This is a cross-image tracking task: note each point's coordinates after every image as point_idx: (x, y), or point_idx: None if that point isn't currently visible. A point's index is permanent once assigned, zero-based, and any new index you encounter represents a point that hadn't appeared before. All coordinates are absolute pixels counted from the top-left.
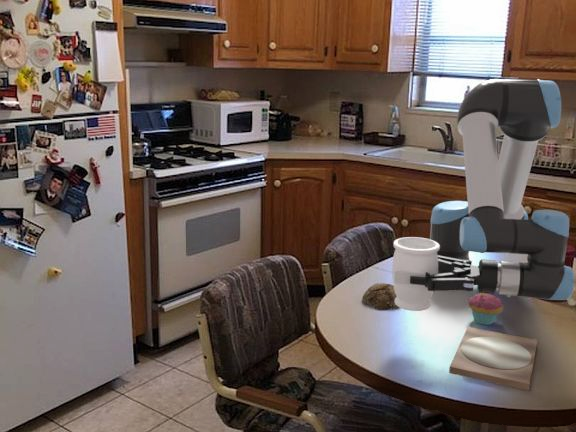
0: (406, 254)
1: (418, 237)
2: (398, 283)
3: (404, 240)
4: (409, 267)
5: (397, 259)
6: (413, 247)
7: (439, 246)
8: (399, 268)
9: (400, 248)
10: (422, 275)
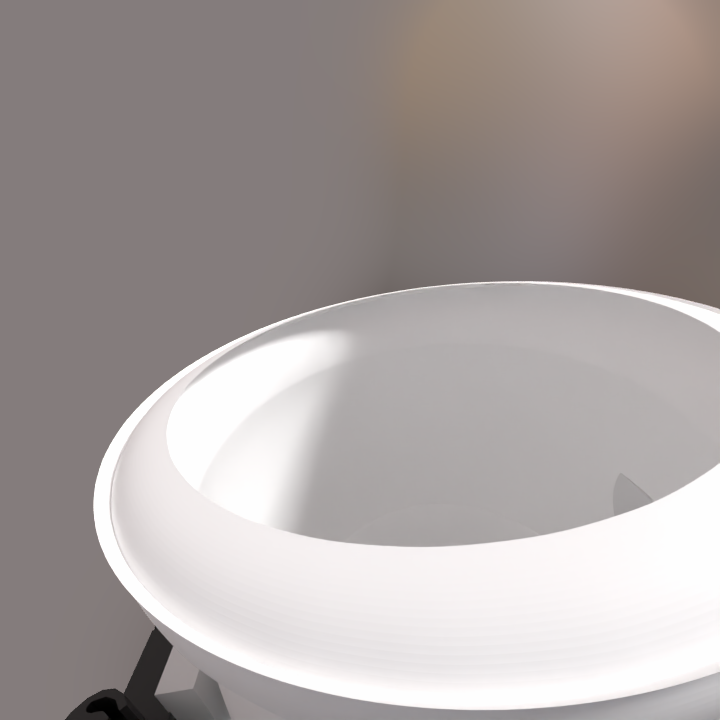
0: (244, 398)
1: (697, 303)
2: (327, 538)
3: (533, 306)
4: (239, 504)
5: (309, 407)
6: (618, 395)
7: (494, 709)
8: (291, 465)
9: (258, 337)
10: (171, 668)
